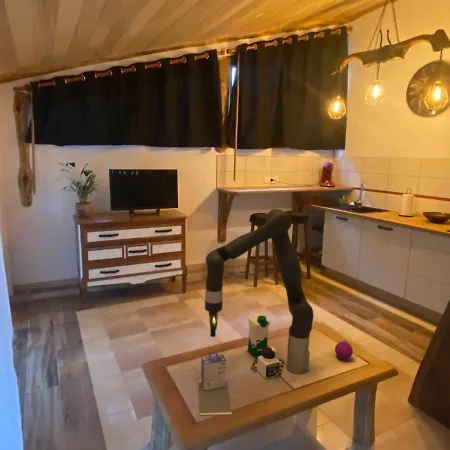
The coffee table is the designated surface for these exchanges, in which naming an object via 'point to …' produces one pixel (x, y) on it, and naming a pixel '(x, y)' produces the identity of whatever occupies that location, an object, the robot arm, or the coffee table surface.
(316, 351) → the coffee table surface
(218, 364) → the ink cartridge box
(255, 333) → the milk carton
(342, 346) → the christmas ornament
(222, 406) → the mat
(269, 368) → the medicine bottle
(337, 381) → the coffee table surface
